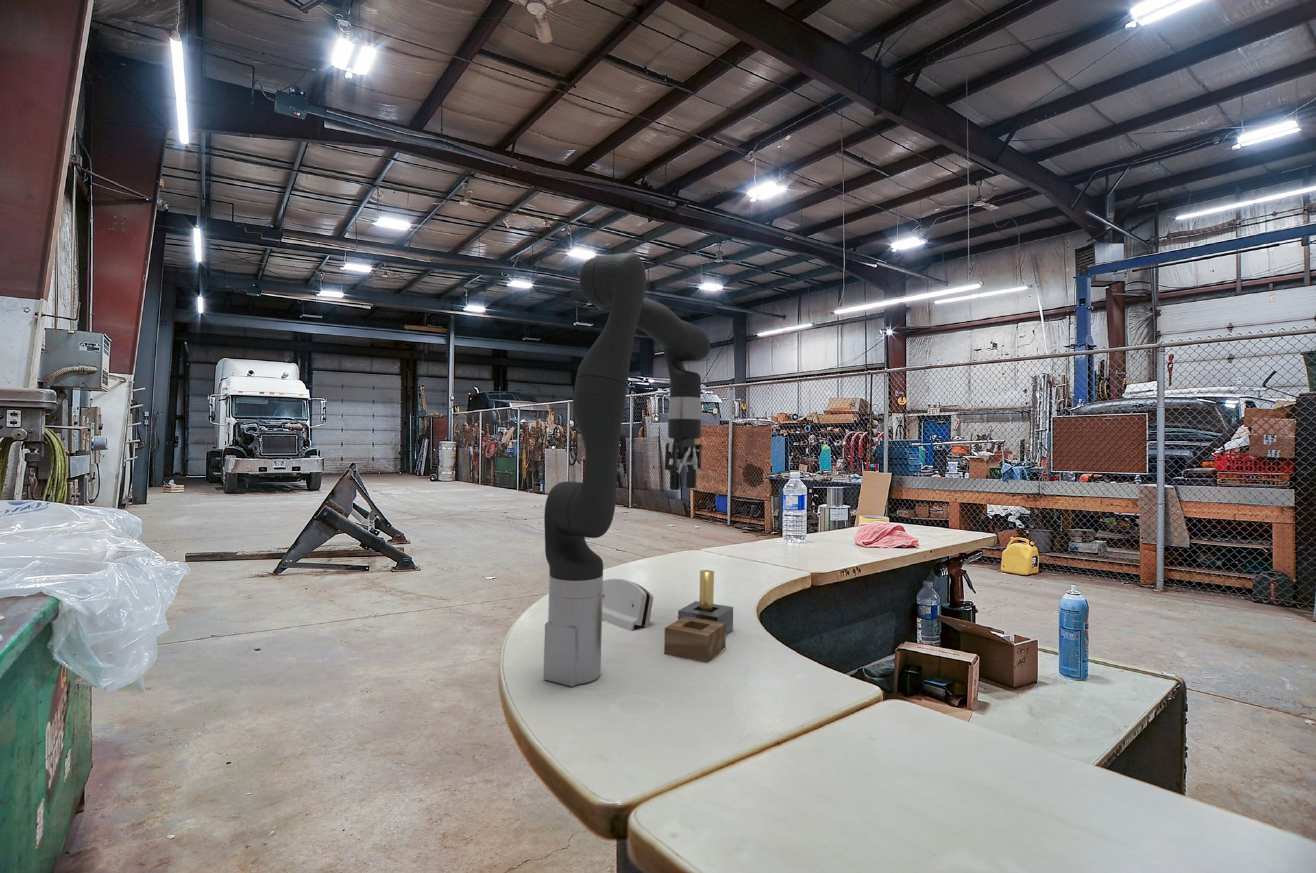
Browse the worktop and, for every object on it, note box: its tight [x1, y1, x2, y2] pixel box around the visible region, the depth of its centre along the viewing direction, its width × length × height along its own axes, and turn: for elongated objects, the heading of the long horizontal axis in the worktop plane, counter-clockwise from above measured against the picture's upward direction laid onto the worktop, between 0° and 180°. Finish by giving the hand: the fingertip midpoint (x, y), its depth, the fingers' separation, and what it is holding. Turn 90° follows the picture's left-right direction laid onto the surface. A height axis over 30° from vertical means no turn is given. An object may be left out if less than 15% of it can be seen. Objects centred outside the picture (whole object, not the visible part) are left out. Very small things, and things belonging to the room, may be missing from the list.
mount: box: [663, 616, 727, 663], centre depth 117 cm, size 9×9×5 cm
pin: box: [698, 569, 715, 613], centre depth 129 cm, size 3×3×13 cm
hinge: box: [602, 578, 654, 632], centre depth 137 cm, size 17×5×10 cm, turn 43°
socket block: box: [677, 600, 734, 636], centre depth 129 cm, size 9×9×5 cm
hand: (683, 488), depth 137 cm, fingers open, 8 cm apart
